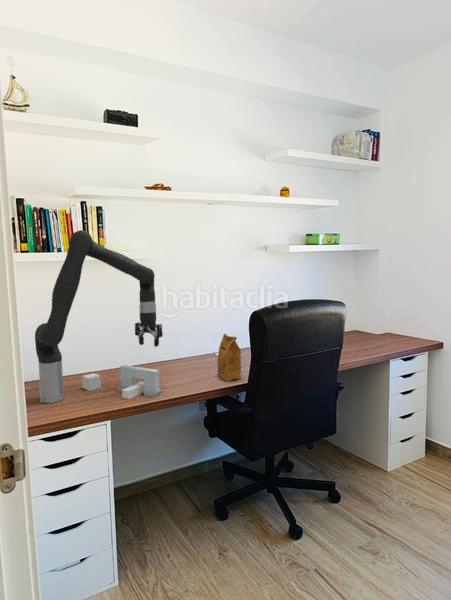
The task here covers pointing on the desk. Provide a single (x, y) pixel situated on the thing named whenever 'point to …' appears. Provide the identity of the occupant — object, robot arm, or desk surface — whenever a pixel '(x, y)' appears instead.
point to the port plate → (148, 376)
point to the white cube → (91, 381)
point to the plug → (133, 390)
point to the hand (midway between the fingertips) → (148, 345)
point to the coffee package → (229, 359)
